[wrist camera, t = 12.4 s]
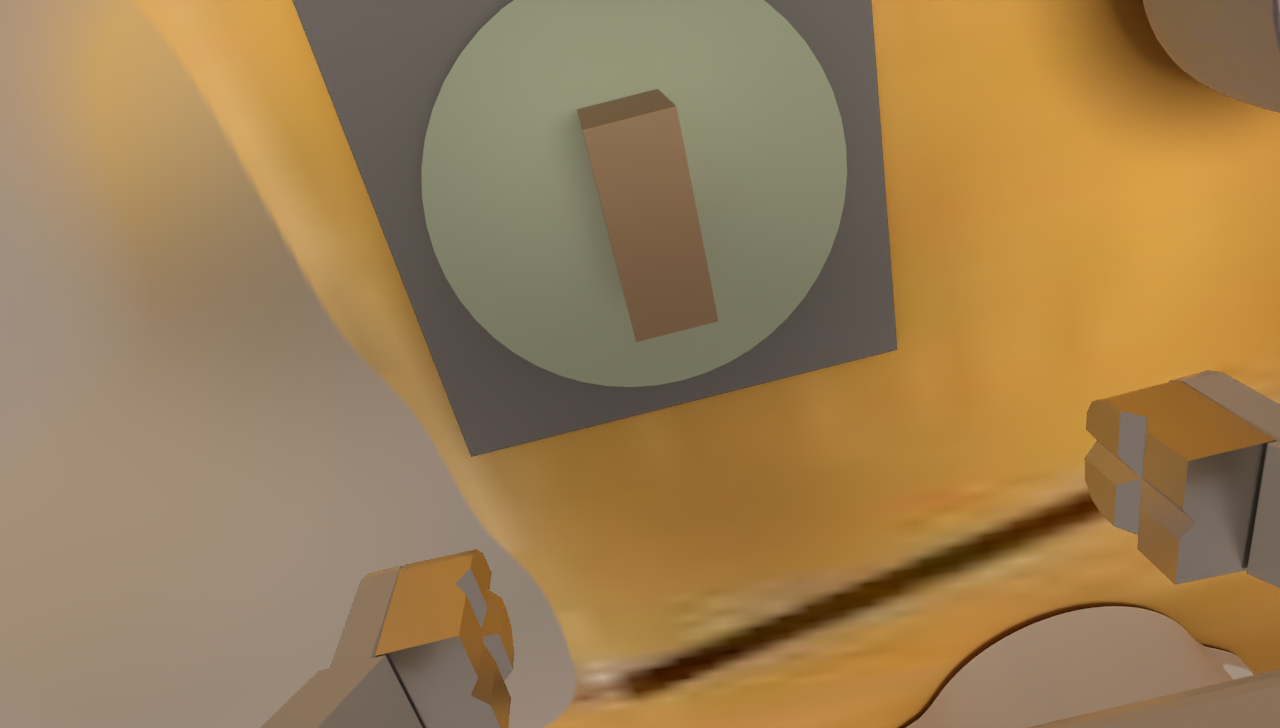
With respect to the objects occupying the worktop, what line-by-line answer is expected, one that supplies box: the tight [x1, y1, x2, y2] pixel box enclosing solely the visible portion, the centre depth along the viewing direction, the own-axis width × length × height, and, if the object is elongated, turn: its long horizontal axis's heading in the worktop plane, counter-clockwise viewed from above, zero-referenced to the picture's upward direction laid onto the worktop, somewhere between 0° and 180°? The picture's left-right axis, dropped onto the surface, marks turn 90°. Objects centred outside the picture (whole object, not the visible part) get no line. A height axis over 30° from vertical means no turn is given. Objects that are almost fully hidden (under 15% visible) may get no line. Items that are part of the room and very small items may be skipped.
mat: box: [293, 0, 897, 457], centre depth 25 cm, size 16×16×1 cm
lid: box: [421, 0, 847, 387], centre depth 22 cm, size 13×13×4 cm
